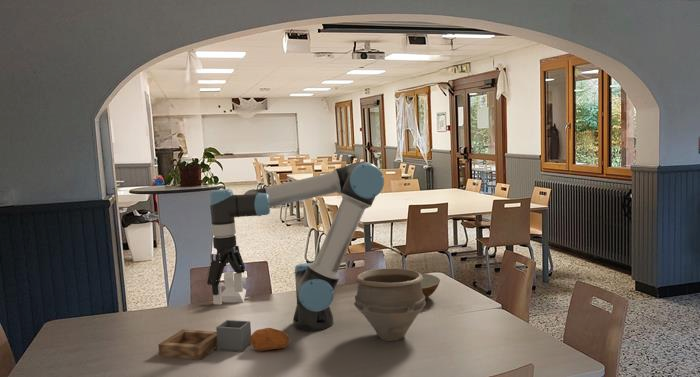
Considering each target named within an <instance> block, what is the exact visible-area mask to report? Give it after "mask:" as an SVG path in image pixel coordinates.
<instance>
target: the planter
mask: <svg viewBox="0 0 700 377" xmlns="http://www.w3.org/2000/svg"><path fill="white" fill-rule="evenodd" d="M420 273H421V272H418V271H416V270H412V269H407V268H399V267H398V268H379V269H378V268H377V269H370V270H366V271H362V272H360V273H359V274H357V275H356V277H355V282H356V283H357V291H356V294H355V296H354V300H355V302H354V304H353V305H354V306H355V308H357V310H358V311H359V312H360V313H361V315H363V317H364V318H365V319H366V320H367V321H368V322H369V324H370V325H371V327H372V328H373V329H374V331H375V332H376V334H377V336H378V337H379V338H380V340H383V341H387V342H390V341H391V342H394V341H400V340H401V339H403V338H404V337H406V334H407V332H408V330H409V329H410V327H411V326H412V324H413V323H414V321H415V320H416V318H417V317H418V316H419V314H420V312H421V311H422V310H423V308H425V306H426V305H427V304H426V299H425V295H424V294H423V292H422V287H421V281H422V280H423V276H422V275H421V274H420Z"/></svg>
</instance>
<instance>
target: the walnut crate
mask: <svg viewBox="0 0 700 377" xmlns="http://www.w3.org/2000/svg"><path fill="white" fill-rule="evenodd" d="M157 345H158V356H159V357H163V358H164V357H166V358H175V359H176V358H178V359H188V360H190V359H191V360H202V359H203V358H204V357H206V356H207V355H208V354H210V353H211V352H213V351H214V350H215V349H216V348H218V345H217V331H211V330H200V329H199V330H195V329H180V331H178V332H176V333H175V334H173V335H172V336H169V337H168V338H166V339H165V340H163V341H161V342H160V343H158V344H157Z"/></svg>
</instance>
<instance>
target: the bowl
mask: <svg viewBox="0 0 700 377" xmlns="http://www.w3.org/2000/svg"><path fill="white" fill-rule="evenodd" d="M419 273H420V274H421V275H422V276H423V280H422V281H421V287H422V292H423V294H424V295H425V300H427V298H429V297H430V296H432V295H433V294H434V293H435V292H436V290H437V289H438V287H439V284H440V282H441V279H440V278H439V277H438V276H435V275H433V274H429V273H424V272H423V273H422V272H419Z"/></svg>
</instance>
